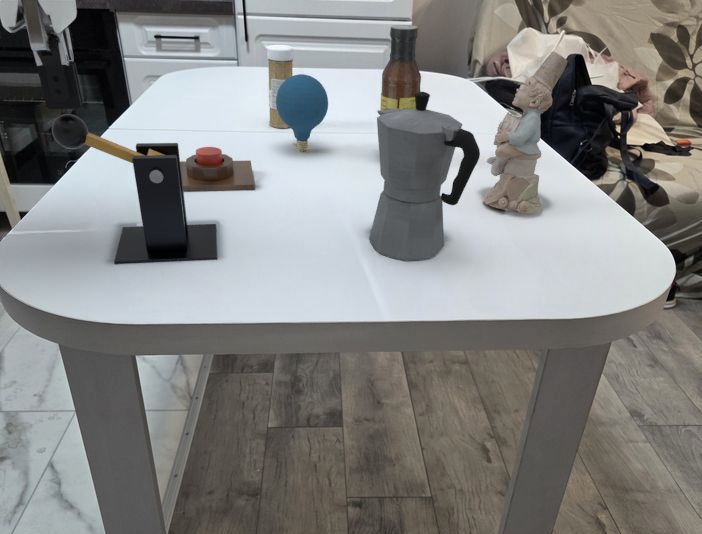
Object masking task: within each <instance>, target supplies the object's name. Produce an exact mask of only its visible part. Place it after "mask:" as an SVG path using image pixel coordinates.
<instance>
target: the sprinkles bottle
mask: <svg viewBox="0 0 702 534" xmlns="http://www.w3.org/2000/svg"><path fill="white" fill-rule="evenodd" d="M266 57H267V61H268V63H267V64H268V107H269V122H268V123H269V126H271V127H272V128H277V129H287V128H290V127H289V126H288V125H287V124H285V123H284V121H283V120H282V119H281V117H280V116H279V114H278V111H277V108H276V96H277V92H278V90H279V88H280V86H281V85H282V83H283V82H284V81H285V80H286V79H288V78H290V77H292V76H293V61H294V48H293V46H291V45H287V44H271V45H267V48H266Z"/></svg>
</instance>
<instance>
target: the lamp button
mask: <svg viewBox="0 0 702 534" xmlns="http://www.w3.org/2000/svg"><path fill="white" fill-rule="evenodd" d="M222 154H223V151H222V149H221V148H219V147H216V146H202V147H199V148H197V149H195V155H196V160H197V164H200V165H205V166H209V165H218V164H221V163H223V162H222Z"/></svg>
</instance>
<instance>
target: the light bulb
mask: <svg viewBox="0 0 702 534" xmlns="http://www.w3.org/2000/svg"><path fill="white" fill-rule="evenodd" d="M328 97H329V96H328V94H327V90H326V89H325V87H324V86H323V84H322V83H321V82H320V80H318V79H317V78H315V77H313V76H311V75H308V74H304V73H303V74H302V73H301V74H293V75H292V77H290V78H288V79H286V80H285V81H284V82H283V83H282V85H281V86H280V88H279V90H278V92H277V96H276V108H277V111H278V114H279V116H280V117H281V119H282V120H283V121H284V123H285V124H287V125H288V126H289V127H288V128H290V129H291V130H292V132H293V135H294V138H295V140H296V149H297V150H298V151H299V152H306V151H307V150H308V149H309V146H308V145H309V144H308V143H309V142H308V140H309V139H310V137H311V133H312V131H313V130H314V129H315V128H316V127H317V126H319V125H321V123H322V122H323V120H324V119H325V117H326V116H327V112H328V108H329V98H328Z"/></svg>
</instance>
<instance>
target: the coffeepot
mask: <svg viewBox="0 0 702 534" xmlns="http://www.w3.org/2000/svg"><path fill="white" fill-rule="evenodd" d="M430 97H431V94H430V93H428V92H425V91H420V92H418V93H415V104H416V108H415V109H396V108H392V109H388V108H387V109H384V110H379V109H378V110H377V111H376V112H377V114H378V115H379V116H377V117H376V122H377V123H376V127H377V140H378V154H379V167H380V170H379V171H380V176H381V177H382V179H383V180H384V182H383V190H382V191H381V193H380V195H379V199H378V202H377V207H376V210H375V214H374V218H373V222H372V225H371V229H370V232H369V233H370V234H369V238H368V240H369V241H370V244H371V246H372V248H373V249H374V250H375V251H376V252H377V253H379V254H381V255H382V256H384V257H387V258H391V259H393V260H398V261H408V262H409V261H410V262H416V261H417V262H418V261H425V260H429V259H431V258H434V257H436V256H437V255H438V254H440V251H441V250H442V248H444V246H445V236H444V235H445V234H444V207H443V206H444V205H443V203H445V204H447V205H449V206H456V205H458V203H459V201H460V199H461V197H462V195H463V193H464V191H465V189H466V186H467V184H468V182H469V180H470V178H471V177H472V174H473V172H474V170H475V167H476V165H477V164H478V162H479V159H480V157H481V152H480V148H479V145H478V142H477V141H476V138H475V136H474V134H473V132H471V131H469V130H466V129H463V128H462V127H463V123H462V122H460V121H459V120H457V119H456V118H454V117H453V116H452V115H449V114H446V113H443V112H439V111H434V110H431V109H427V107H428V103H429V101H430ZM456 148H460V149H461V150H462V154H463V158H462V159H461V161H460V164H459V168H458V171H457V175H456V176H455V177H454V179H453V182H452V186H451V192H450V193H449V194H447V193H445V192H442V193H441V190H442V189H441V188H442V185H443V184H444V183H445V182H446V180H447V179H448V178H447V177H448V175H449V171H450V167H451V164H452V161H453V157H454V154H455V150H456Z"/></svg>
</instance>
